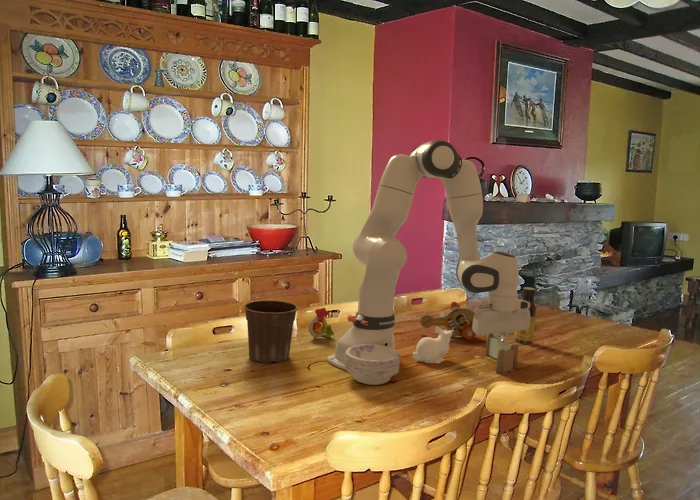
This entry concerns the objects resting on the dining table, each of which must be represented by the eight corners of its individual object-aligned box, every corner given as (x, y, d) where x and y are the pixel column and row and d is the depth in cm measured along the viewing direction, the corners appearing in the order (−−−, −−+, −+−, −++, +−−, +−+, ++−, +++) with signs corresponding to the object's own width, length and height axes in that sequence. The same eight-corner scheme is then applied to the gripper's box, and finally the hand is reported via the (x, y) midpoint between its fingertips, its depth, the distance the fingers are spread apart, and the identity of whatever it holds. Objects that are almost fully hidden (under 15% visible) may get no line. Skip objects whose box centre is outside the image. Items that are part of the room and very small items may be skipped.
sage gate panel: (513, 365, 173) (515, 343, 172) (507, 365, 173) (509, 343, 172) (489, 353, 185) (491, 332, 184) (484, 353, 184) (486, 332, 183)
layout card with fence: (508, 379, 163) (510, 354, 162) (457, 362, 176) (459, 339, 175) (548, 363, 178) (550, 341, 177) (498, 349, 191) (500, 328, 190)
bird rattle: (320, 347, 193) (340, 333, 198) (310, 319, 189) (330, 306, 194) (310, 342, 198) (329, 329, 202) (300, 315, 194) (320, 302, 198)
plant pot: (303, 352, 180) (305, 303, 177) (284, 369, 164) (286, 314, 162) (256, 346, 184) (257, 298, 182) (233, 361, 168) (234, 309, 166)
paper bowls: (366, 364, 169) (367, 339, 168) (409, 379, 160) (410, 352, 158) (332, 378, 157) (334, 351, 156) (376, 394, 148) (378, 366, 147)
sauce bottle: (510, 341, 202) (514, 286, 199) (524, 339, 204) (529, 285, 202) (522, 346, 196) (526, 290, 193) (536, 345, 198) (541, 289, 196)
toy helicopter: (478, 340, 201) (481, 302, 199) (421, 340, 198) (424, 302, 197) (471, 334, 209) (473, 297, 207) (416, 333, 207) (418, 296, 205)
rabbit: (444, 356, 181) (446, 320, 180) (456, 366, 172) (459, 328, 171) (408, 358, 178) (410, 321, 177) (419, 368, 169) (421, 329, 168)
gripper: (481, 307, 172) (479, 351, 174) (534, 302, 180) (531, 344, 182) (469, 303, 178) (467, 345, 180) (521, 298, 186) (518, 339, 188)
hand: (500, 345), depth 181 cm, fingers closed
